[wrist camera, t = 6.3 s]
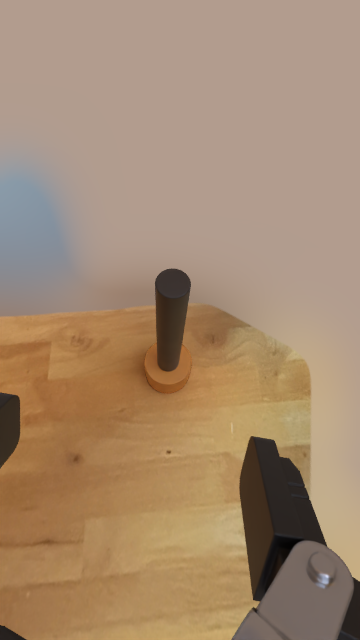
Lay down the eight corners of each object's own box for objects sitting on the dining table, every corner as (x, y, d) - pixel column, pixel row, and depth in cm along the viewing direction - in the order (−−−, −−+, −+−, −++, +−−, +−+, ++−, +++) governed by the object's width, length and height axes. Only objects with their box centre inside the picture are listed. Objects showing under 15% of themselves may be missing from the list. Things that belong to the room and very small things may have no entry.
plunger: (188, 351, 38) (209, 252, 21) (189, 393, 35) (214, 317, 19) (146, 351, 37) (135, 250, 21) (145, 393, 35) (132, 317, 19)
